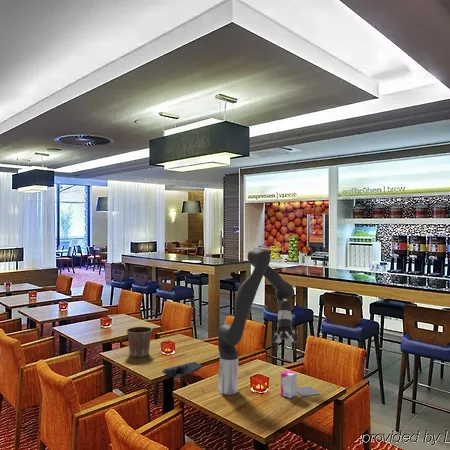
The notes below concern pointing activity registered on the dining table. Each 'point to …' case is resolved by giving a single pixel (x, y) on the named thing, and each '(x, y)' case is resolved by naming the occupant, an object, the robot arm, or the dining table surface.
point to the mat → (306, 391)
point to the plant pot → (139, 341)
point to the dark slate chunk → (182, 370)
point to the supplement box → (288, 384)
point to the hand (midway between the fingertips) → (285, 350)
